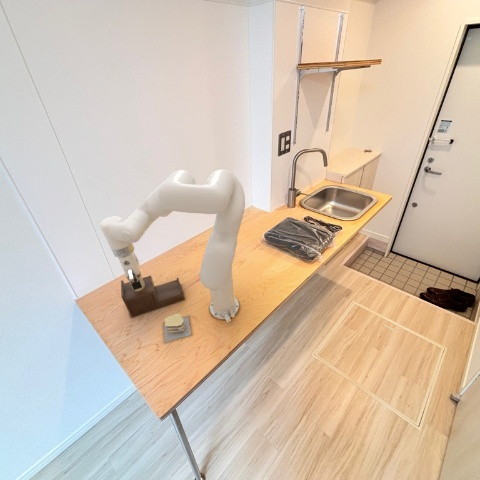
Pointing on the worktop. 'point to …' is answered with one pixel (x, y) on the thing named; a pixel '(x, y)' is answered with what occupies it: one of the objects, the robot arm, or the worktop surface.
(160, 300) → the step rack
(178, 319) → the stacked layers on plate
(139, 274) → the spice jar
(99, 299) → the worktop surface
